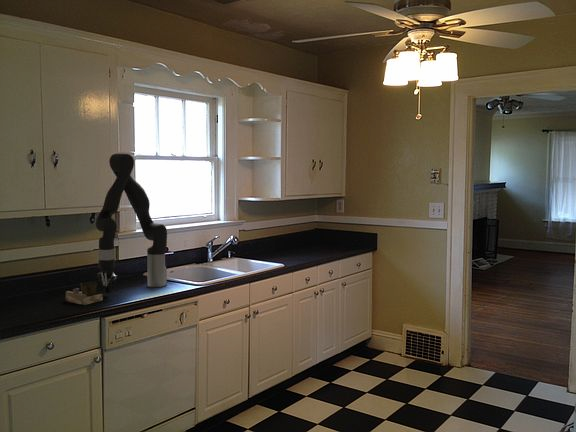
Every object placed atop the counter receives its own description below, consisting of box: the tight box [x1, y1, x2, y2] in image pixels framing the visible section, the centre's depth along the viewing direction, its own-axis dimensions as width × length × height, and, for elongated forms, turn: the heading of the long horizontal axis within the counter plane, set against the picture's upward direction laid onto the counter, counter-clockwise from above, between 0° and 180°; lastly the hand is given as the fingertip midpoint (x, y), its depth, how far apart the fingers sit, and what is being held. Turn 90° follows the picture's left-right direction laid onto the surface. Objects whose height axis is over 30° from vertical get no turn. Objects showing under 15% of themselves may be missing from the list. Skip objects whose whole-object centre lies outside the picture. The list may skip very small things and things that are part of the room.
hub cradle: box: [65, 287, 104, 306], centre depth 261 cm, size 11×13×6 cm
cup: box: [80, 281, 98, 297], centre depth 263 cm, size 8×7×8 cm
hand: (107, 293), depth 273 cm, fingers closed
